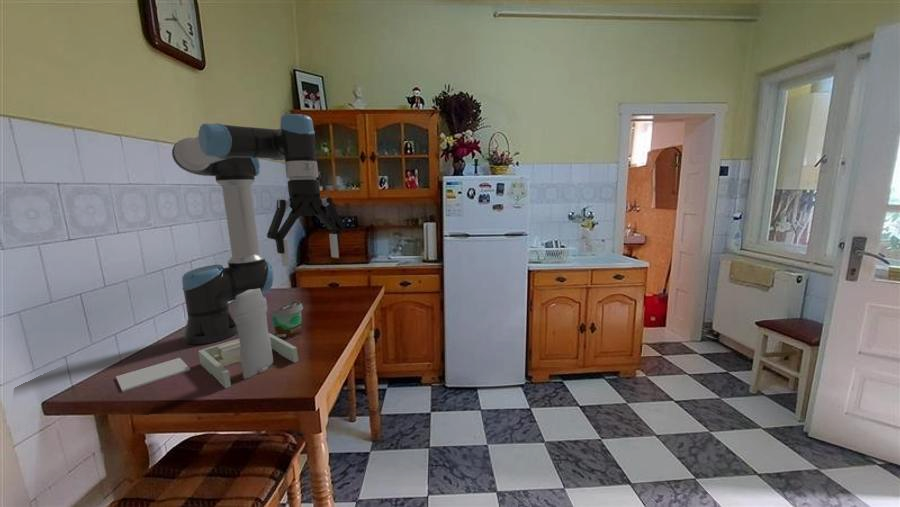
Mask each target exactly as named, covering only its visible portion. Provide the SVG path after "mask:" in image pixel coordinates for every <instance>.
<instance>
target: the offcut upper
mask: <svg viewBox="0 0 900 507" xmlns="http://www.w3.org/2000/svg"><path fill="white" fill-rule="evenodd" d="M240 346H241V345H240V341H236V342H232V343H229V344H226V345H222V346H219V347H218V352H219V356H221V357H222V358H223V359H224V360H226V359H229V358H232V357H235V356H239V355H240Z"/></svg>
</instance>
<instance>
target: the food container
mask: <svg viewBox="0 0 900 507" xmlns="http://www.w3.org/2000/svg"><path fill="white" fill-rule="evenodd" d="M302 310H304V307H303V304H302V303H301V301H300V300H296V299H295V300H294V299H293V300H292V303H290V304H288V305H284V306H282V307H281V308H279V309H275V310H271V313H270V318H272V321H273V326H274V331H275V336H276V337H278V338H280V339H282V340H284V339H283V338H287V339H289V338H288V337H291V338H293V337H292V336H295V335H297V336H299V335H300V334H301V333H302V332H303V331H302V329H303V327H302ZM301 331H302V332H301ZM299 333H300V334H299ZM298 334H299V335H298ZM295 337H296V336H295Z"/></svg>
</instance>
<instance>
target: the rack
mask: <svg viewBox="0 0 900 507" xmlns="http://www.w3.org/2000/svg"><path fill="white" fill-rule="evenodd" d="M268 334H269V336H270V340H271V347H272V349H273V350H272V351H274V350H275V351H276V352H275V351H274V352H275V353H277V352H278V353H277V354H279V355H280V356H282V357H283V358H285V359H287V360H289V361H290V362H292V363H294V364H295V363H297V362H299V356H298V355H299V354H298V348H297V347H296V346H294V345H293V344H291V343H289V342H287V341H285V339H280V338H278V337H277V336H276V335H275V334H272V333H270V332H269V331H268ZM239 340H240V339H239V338H237V339H236V338H235V339H234V340H230V341H226V342H224V343H219V344H215V345H212V346H209V347H206V348H202V349H199V350H198V357H199V362H200V365H201V366H202V367H203V368H204V369H205V370H206V371H207V372H208V373H209V374H210V375H211V374H212V375H213V376H214V377H215V378H216V379H217V380H218V381H219V382H218V381H217V380H216V379H215V378H214V377H213V376H212V375H211V376H212V377H213V378H214V379H215V380H216V381H217V382H218V383H219V384H221V385H222V386H223V387H224V389H228V388H231V387H232V383H231V376H230V371H229V370H228V369H227V368H226V366H225V367H223V366H222V365H221V364H220V363H219V362H218V361H216V360H215V359H214V356H215V355H218V354H219V352H218V347H219V346H222V345H226V344H229V343H232V342H236V341H239Z"/></svg>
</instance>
